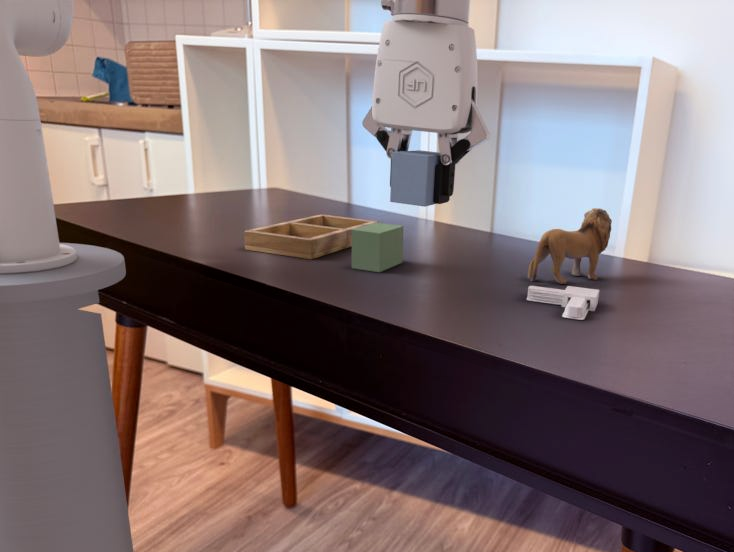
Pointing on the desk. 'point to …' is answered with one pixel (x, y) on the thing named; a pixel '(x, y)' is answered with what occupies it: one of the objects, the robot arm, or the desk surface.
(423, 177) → the blue-grey block
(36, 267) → the robot arm
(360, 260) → the pad
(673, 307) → the desk surface
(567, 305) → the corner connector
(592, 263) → the lion figurine
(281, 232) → the tray
